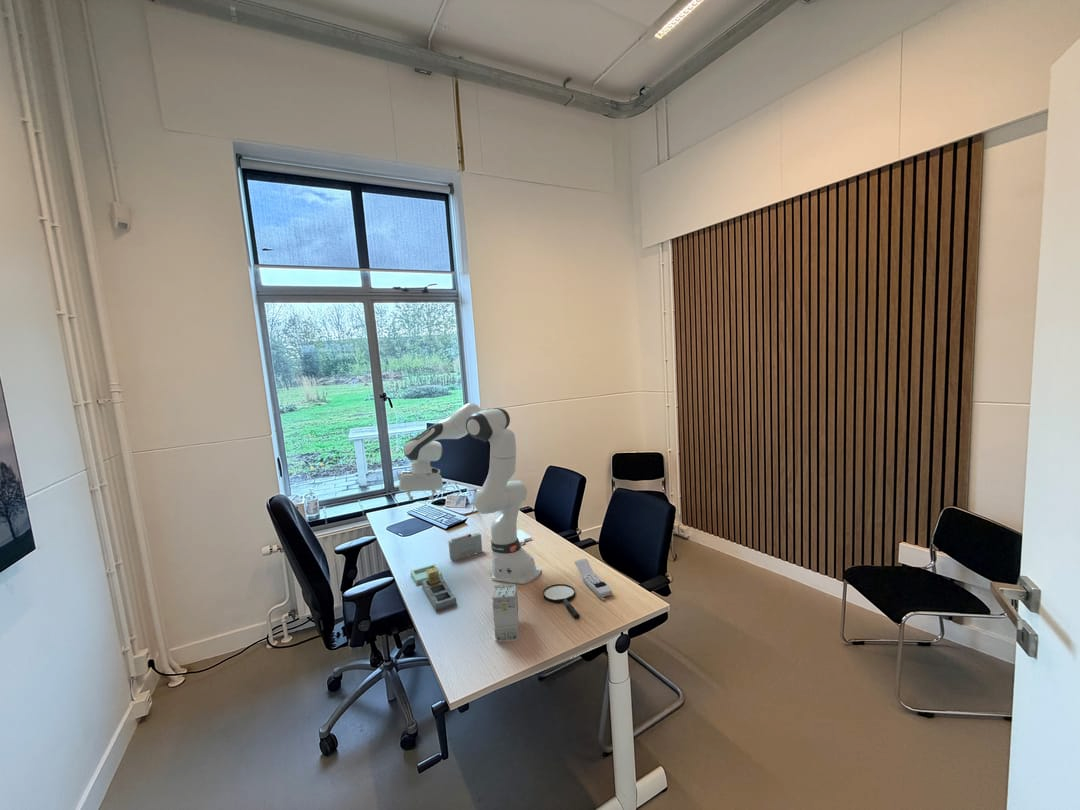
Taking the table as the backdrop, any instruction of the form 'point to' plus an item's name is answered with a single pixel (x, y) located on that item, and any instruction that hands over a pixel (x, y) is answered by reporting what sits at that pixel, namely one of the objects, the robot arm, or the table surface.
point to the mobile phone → (592, 579)
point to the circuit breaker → (505, 612)
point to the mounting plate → (523, 536)
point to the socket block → (439, 595)
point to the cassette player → (465, 546)
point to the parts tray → (422, 573)
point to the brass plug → (432, 576)
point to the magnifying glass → (561, 597)
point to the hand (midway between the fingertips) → (421, 500)
